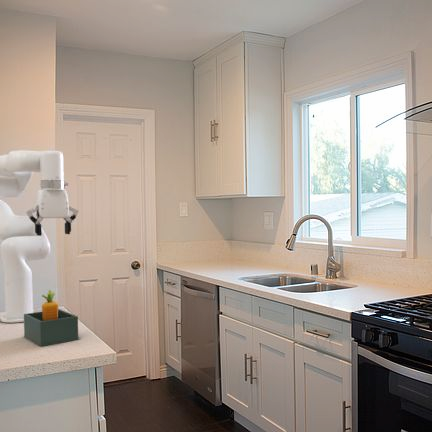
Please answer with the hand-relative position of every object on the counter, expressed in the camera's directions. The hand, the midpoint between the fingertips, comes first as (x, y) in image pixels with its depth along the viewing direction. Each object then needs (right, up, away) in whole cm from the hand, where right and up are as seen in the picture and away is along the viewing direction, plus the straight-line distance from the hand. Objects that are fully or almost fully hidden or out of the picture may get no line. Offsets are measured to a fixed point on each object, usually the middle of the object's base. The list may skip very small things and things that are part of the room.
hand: (53, 234), depth 189 cm
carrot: (+5, -33, -12) cm, 36 cm away
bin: (+5, -34, -12) cm, 36 cm away
